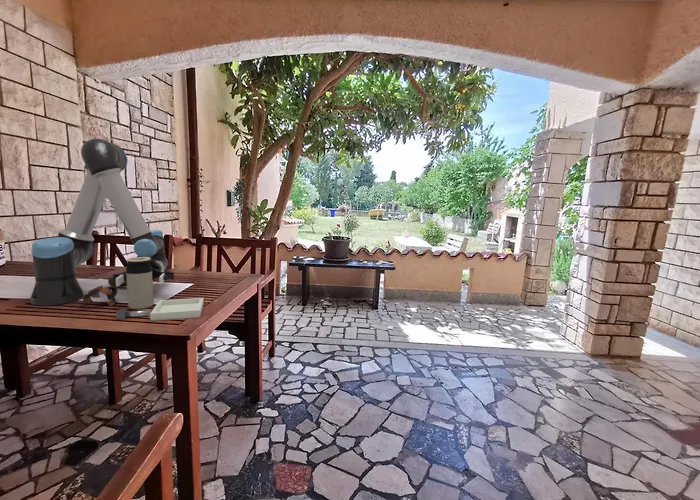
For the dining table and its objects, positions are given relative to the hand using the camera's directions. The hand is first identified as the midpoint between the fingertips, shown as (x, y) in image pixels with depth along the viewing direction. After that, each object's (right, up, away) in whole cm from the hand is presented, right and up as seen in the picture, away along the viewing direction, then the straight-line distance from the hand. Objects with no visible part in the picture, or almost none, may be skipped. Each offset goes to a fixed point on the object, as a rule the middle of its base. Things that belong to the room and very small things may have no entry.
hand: (139, 281), depth 120 cm
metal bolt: (+3, -11, -7) cm, 14 cm away
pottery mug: (-16, -9, +4) cm, 19 cm away
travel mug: (-2, -10, +4) cm, 10 cm away
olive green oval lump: (-24, -5, +28) cm, 37 cm away
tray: (+15, -11, -1) cm, 19 cm away
